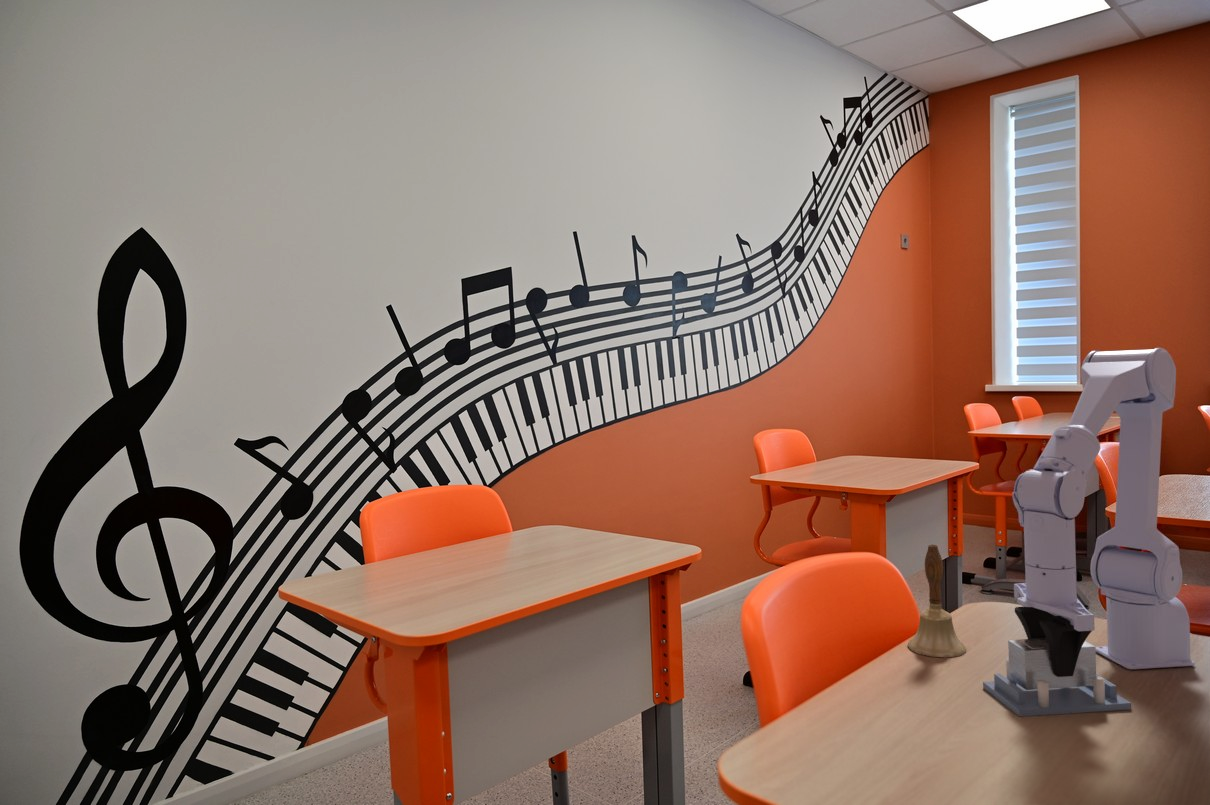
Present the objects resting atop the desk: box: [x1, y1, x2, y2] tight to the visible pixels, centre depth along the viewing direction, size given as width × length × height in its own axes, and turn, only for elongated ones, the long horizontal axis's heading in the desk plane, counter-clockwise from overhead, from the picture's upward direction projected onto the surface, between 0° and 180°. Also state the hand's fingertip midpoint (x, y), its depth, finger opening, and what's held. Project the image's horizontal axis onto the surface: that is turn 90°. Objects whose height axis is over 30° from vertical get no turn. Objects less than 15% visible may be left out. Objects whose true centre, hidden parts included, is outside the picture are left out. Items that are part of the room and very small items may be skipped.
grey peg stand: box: [982, 658, 1132, 717], centre depth 104 cm, size 14×9×4 cm, turn 92°
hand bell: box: [907, 544, 967, 659], centre depth 124 cm, size 8×8×16 cm
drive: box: [1007, 638, 1097, 690], centre depth 104 cm, size 9×4×5 cm, turn 92°
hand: (1053, 669), depth 104 cm, fingers closed on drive, 4 cm apart
